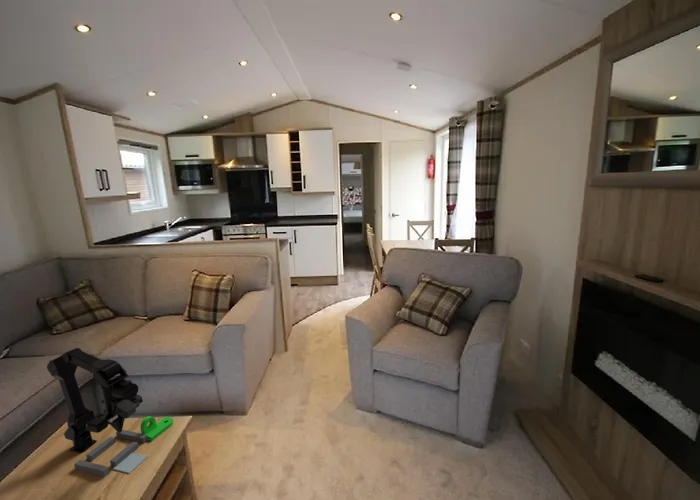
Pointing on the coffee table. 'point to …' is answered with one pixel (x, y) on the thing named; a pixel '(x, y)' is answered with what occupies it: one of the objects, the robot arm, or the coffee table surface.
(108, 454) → the coffee table surface
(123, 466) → the felt pad
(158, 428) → the mechanical part
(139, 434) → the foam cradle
